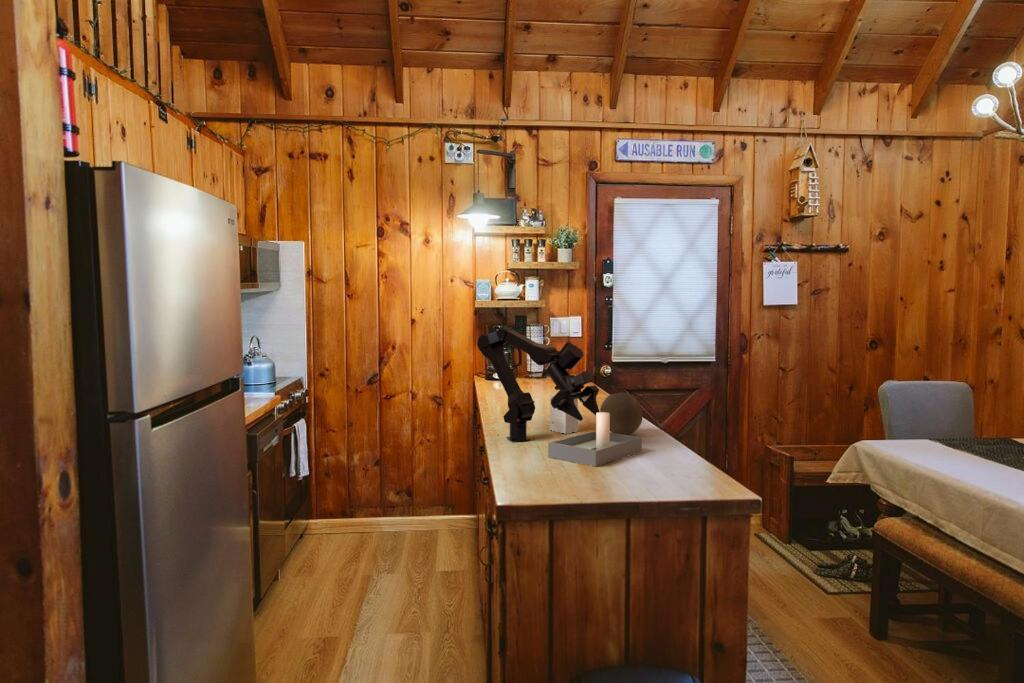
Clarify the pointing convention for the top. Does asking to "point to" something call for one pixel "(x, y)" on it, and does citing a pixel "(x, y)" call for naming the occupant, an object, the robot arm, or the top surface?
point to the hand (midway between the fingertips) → (590, 417)
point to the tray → (594, 448)
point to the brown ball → (623, 413)
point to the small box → (562, 420)
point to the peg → (602, 429)
